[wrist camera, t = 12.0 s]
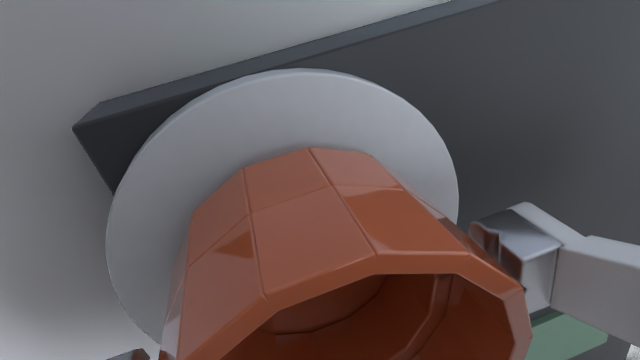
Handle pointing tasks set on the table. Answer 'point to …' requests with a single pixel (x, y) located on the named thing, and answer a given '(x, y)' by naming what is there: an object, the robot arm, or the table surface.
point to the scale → (397, 133)
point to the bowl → (335, 271)
